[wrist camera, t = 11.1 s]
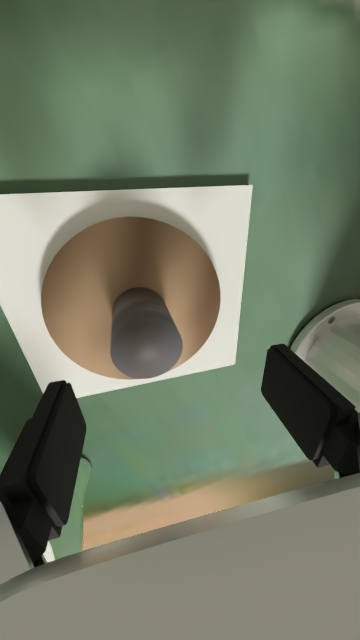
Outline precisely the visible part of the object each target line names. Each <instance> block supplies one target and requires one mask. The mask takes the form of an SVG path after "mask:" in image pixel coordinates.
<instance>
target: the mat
mask: <svg viewBox="0 0 360 640" xmlns="http://www.w3.org/2000/svg"><path fill="white" fill-rule="evenodd" d="M252 187H253V185H237V186H211V187H184V188H157V189H131V190H104V191H78V192H51V193H25V194H0V305H1V307H2V309H3V312H4V314H5V316H6V318H7V320H8V322H9V324H10V326H11V328H12V330H13V332H14V334H15V336H16V338H17V341H18V343H19V345H20V347H21V349H22V351H23V353H24V355H25V357H26V359H27V361H28V363H29V365H30V367H31V370H32V372H33V374H34V376H35V378H36V380H37V382H38V384H39V386H40V388H41V390H42V392H43V394H44V392H45V390H46V388H47V385H48V384H49V383H50V382H55V381H61V380H65V381H66V383H71V385H72V388H73V391H74V394H75V396H76V398H79V397H84V396H88V395H93V394H98V393H102V392H107V391H112V390H117V389H121V388H126V387H131V386H135V385H140V384H145V383H149V382H154V381H159V380H164V379H168V378H173V377H178V376H182V375H187V374H192V373H196V372H201V371H206V370H211V369H215V368H220V367H225V366H229V365H234V364H235V359H236V349H237V339H238V329H239V319H240V308H241V298H242V288H243V278H244V268H245V258H246V248H247V237H248V227H249V217H250V207H251V197H252ZM126 216H128V217H144V218H150V219H155V220H158V221H161V222H164V223H167V224H169V225H171V226H173V227H176V228H178V229H180V230H181V231H183V232H184V233H186V234H187V235H189V236H190V237H191V238H192V239H193V240H195V241H196V242H197V243H198V244H199V245H200V246H201V248H202V249H203V250H204V251H205V252H206V254H207V255H208V257H209V258H210V260H211V262H212V264H213V266H214V268H215V270H216V273H217V276H218V280H219V285H220V299H221V302H220V310H219V314H218V318H217V321H216V324H215V326H214V329H213V331H212V333H211V334H210V336H209V338H208V339H207V341H206V342H205V344H204V345H203V346H202V347H201V348H200V350H199V351H198V352H197V353H196V354H195V355H193V356H192V357H191V358H190V359H189V360H187V361H186V362H185V363H183V364H182V365H180V366H178V367H177V368H175V369H173V370H171V371H168V372H166V373H164V374H162V375H160V376H157V377H153V378H148V379H131V380H128V379H116V378H109V377H105V376H102V375H98V374H96V373H93V372H90V371H88V370H86V369H84V368H83V367H81V366H79V365H78V364H76V363H75V362H73V361H72V360H71V359H69V358H68V357H67V356H66V355H65V354H64V353H63V352H62V351H61V350H60V349H59V348H58V346H57V345H56V344H55V342H54V341H53V339H52V338H51V336H50V334H49V332H48V330H47V328H46V325H45V322H44V319H43V315H42V308H41V290H42V285H43V280H44V277H45V274H46V272H47V269H48V267H49V265H50V263H51V262H52V260H53V258H54V256H55V255H56V254H57V253H58V251H59V250H60V249H61V248H62V247H63V245H64V244H66V243H67V242H68V241H69V240H70V239H71V238H72V237H74V236H75V235H76V234H78V233H79V232H81V231H82V230H84V229H86V228H87V227H89V226H91V225H94V224H96V223H98V222H101V221H104V220H108V219H112V218H118V217H126Z"/></svg>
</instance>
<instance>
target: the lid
mask: <svg viewBox="0 0 360 640" xmlns="http://www.w3.org/2000/svg"><path fill="white" fill-rule="evenodd" d="M220 302H221V299H220V285H219V280H218V276H217V273H216V270H215V268H214V266H213V264H212V262H211V260H210V258H209V257H208V255H207V254H206V252H205V251H204V250H203V249H202V248H201V246H200V245H199V244H198V243H197V242H196V241H195V240H193V239H192V238H191V237H190V236H189V235H187V234H186V233H184V232H183V231H181V230H180V229H178V228H176V227H173V226H171V225H169V224H167V223H164V222H161V221H158V220H155V219H150V218H144V217H128V216H126V217H118V218H112V219H108V220H104V221H101V222H98V223H96V224H94V225H91V226H89V227H87V228H86V229H84V230H82V231H81V232H79V233H78V234H76V235H75V236H74V237H72V238H71V239H70V240H69V241H68V242H67V243H66V244H64V245H63V247H62V248H61V249H60V250H59V251H58V253H57V254H56V255H55V256H54V258H53V260H52V262H51V263H50V265H49V267H48V269H47V272H46V274H45V277H44V280H43V285H42V290H41V308H42V315H43V319H44V322H45V325H46V328H47V330H48V332H49V334H50V336H51V338H52V339H53V341H54V342H55V344H56V345H57V346H58V348H59V349H60V350H61V351H62V352H63V353H64V354H65V355H66V356H67V357H68V358H69V359H71V360H72V361H73V362H75V363H76V364H78V365H79V366H81V367H83V368H84V369H86V370H88V371H90V372H93V373H96V374H98V375H102V376H105V377H109V378H116V379H128V380H131V379H148V378H153V377H157V376H160V375H162V374H164V373H166V372H168V371H171V370H173V369H175V368H177V367H178V366H180V365H182V364H183V363H185V362H186V361H187V360H189V359H190V358H191V357H192V356H193V355H195V354H196V353H197V352H198V351H199V350H200V348H201V347H202V346H203V345H204V344H205V342H206V341H207V339H208V338H209V336H210V334H211V333H212V331H213V329H214V326H215V324H216V321H217V318H218V314H219V310H220Z"/></svg>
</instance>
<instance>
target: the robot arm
mask: <svg viewBox="0 0 360 640" xmlns="http://www.w3.org/2000/svg"><path fill="white" fill-rule="evenodd" d="M261 392H262V395H263V396H264V398H265V399H266V401H267V402H268V403H269V405H270V406H271V408H272V409H273V410H274V412H275V413H276V415H277V416H278V417H279V419H280V420H281V422H282V423H283V424H284V426H285V427H286V429H287V430H288V432H289V433H290V434H291V436H292V437H293V439H294V440H295V441H296V443H297V444H298V446H299V447H300V448H301V450H302V451H303V453H304V454H305V455H306V457H307V458H308V459H309V460H312V461H313V462H314V463H315V465H316V466H317V467H322V466H326V465H329V464H330V465H331V466H332V467H333V469H334V475H335V479H334V480H330V481H326V482H322V483H319V484H315V485H311V486H308V487H305V488H301V489H297V490H294V491H290V492H286V493H283V494H279V495H275V496H272V497H268V498H264V499H261V500H257V501H254V502H251V503H247V504H243V505H240V506H236V507H233V508H229V509H225V510H222V511H218V512H215V513H212V514H208V515H204V516H201V517H197V518H194V519H190V520H187V521H183V522H180V523H176V524H173V525H169V526H166V527H162V528H159V529H155V530H152V531H148V532H145V533H142V534H138V535H135V536H131V537H128V538H124V539H121V540H117V541H114V542H111V543H107V544H104V545H101V546H98V547H94V548H91V549H88V550H85V551H81V552H78V553H75V554H72V555H69V556H65V557H62V558H59V559H57V560H54V561H51V562H49V563H47V561H46V559H45V557H44V555H43V554H44V552H45V551H46V548H47V544H48V540H52V539H56V538H59V537H60V535H61V530H62V526H64V525H66V524H67V522H68V518H69V514H70V509H71V504H72V499H73V494H74V489H75V484H76V479H77V474H78V469H79V464H80V459H81V454H82V449H83V444H84V439H85V434H86V423H85V420H84V418H83V415H82V412H81V410H80V407H79V404H78V402H77V399H76V396H75V394H74V391H73V388H72V385H71V383H66V381H65V380H61V381H55V382H50V383H49V384H48V385H47V388H46V390H45V392H44V394H43V396H42V398H41V400H40V402H39V404H38V407H37V409H36V411H35V413H34V415H33V417H32V418H30V419H29V420H28V421H27V422H26V424H25V426H24V428H23V430H22V432H21V434H20V436H19V438H18V440H17V442H16V444H15V446H14V448H13V450H12V452H11V454H10V456H9V458H8V460H7V462H6V464H5V466H4V468H3V470H2V472H1V474H0V640H360V299H352V300H346V301H343V302H340V303H337V304H335V305H333V306H331V307H329V308H327V309H326V310H324V311H323V312H321V313H320V314H318V315H317V316H316V317H314V318H313V319H312V320H311V321H310V322H309V323H308V324H307V325H306V326H305V327H304V328H303V330H302V331H301V332H300V333H299V334H298V336H297V338H296V339H295V341H294V342H293V344H292V346H291V348H290V349H289V348H288V347H287V346H286V345H285V344H278V345H272V346H271V347H270V349H268V351H267V357H266V363H265V369H264V375H263V381H262V387H261Z"/></svg>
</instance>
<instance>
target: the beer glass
mask: <svg viewBox="0 0 360 640" xmlns="http://www.w3.org/2000/svg"><path fill="white" fill-rule="evenodd" d="M90 474H91V464H90V462H89V461H88V460H87V459H85V458H83V457H81V459H80V464H79V469H78V474H77V479H76V484H75V489H74V494H73V499H72V504H71V509H70V514H69V518H68V522H67V524H66V525H64V526H62V530H61V535H60V537H59V538H56V539H52V540H48V544H47V548H46V551H45V552H44V554H43V555H44V557H45V559H46V561H47V563H49V562H51V561H54V560H57V559H59V558H62V557H65V556H69V555H72V554H75V553H78V552H81V551H84V530H83V508H84V498H85V493H86V489H87V485H88V481H89V478H90Z"/></svg>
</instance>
